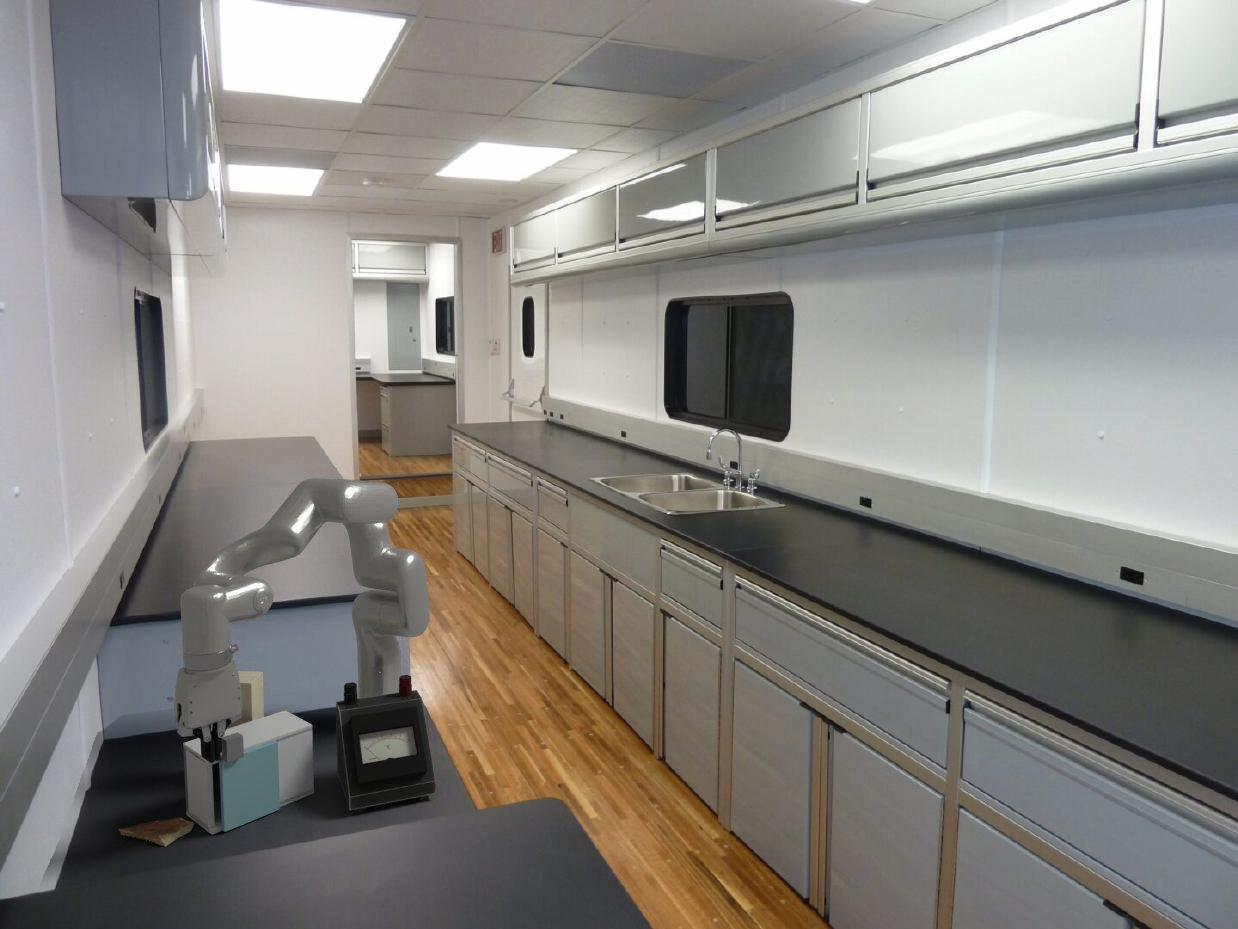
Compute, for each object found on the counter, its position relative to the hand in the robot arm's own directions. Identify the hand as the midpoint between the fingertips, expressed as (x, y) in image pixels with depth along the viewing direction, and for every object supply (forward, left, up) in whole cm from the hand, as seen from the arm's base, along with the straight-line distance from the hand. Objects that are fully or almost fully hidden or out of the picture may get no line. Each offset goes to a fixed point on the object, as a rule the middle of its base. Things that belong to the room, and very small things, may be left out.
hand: (212, 759), depth 155 cm
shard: (+7, -8, -15) cm, 19 cm away
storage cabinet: (-10, -6, -15) cm, 19 cm away
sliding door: (-7, 0, -14) cm, 16 cm away
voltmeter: (-30, +8, -15) cm, 35 cm away
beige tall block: (-14, -18, -15) cm, 28 cm away
